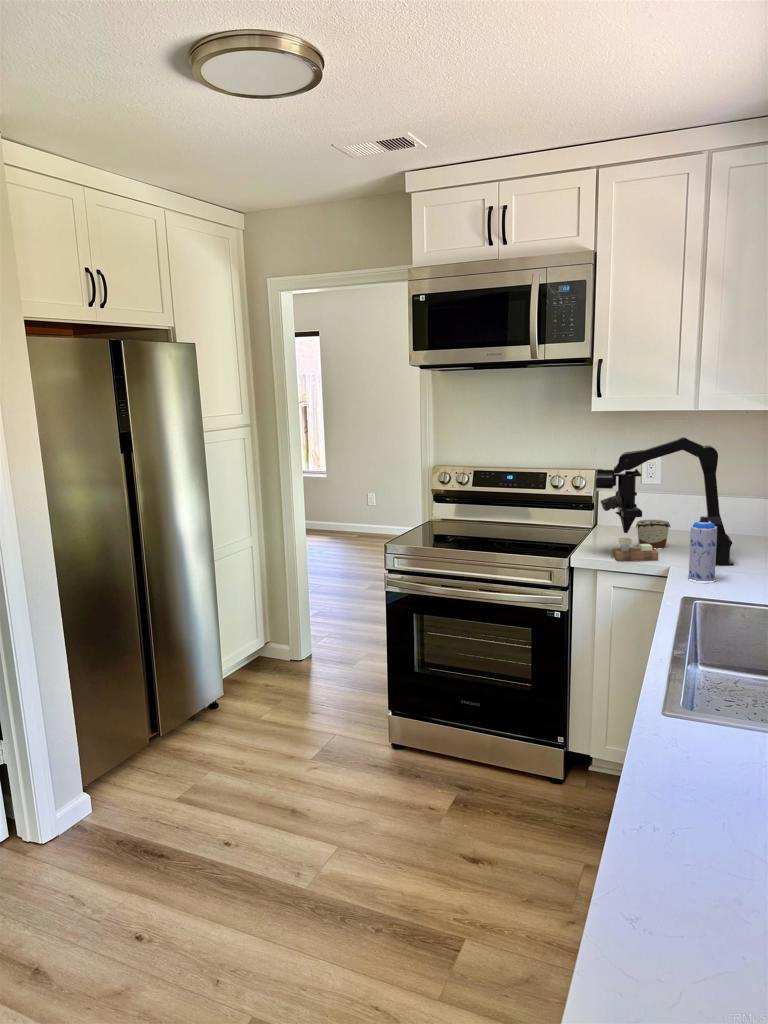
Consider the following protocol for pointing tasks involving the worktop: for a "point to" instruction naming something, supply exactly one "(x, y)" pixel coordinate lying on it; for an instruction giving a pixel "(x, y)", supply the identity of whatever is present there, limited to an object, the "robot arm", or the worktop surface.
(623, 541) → the plunger
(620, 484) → the robot arm
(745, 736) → the worktop surface
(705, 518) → the aerosol can
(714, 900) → the worktop surface
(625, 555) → the bar
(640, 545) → the plunger
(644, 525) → the food container
